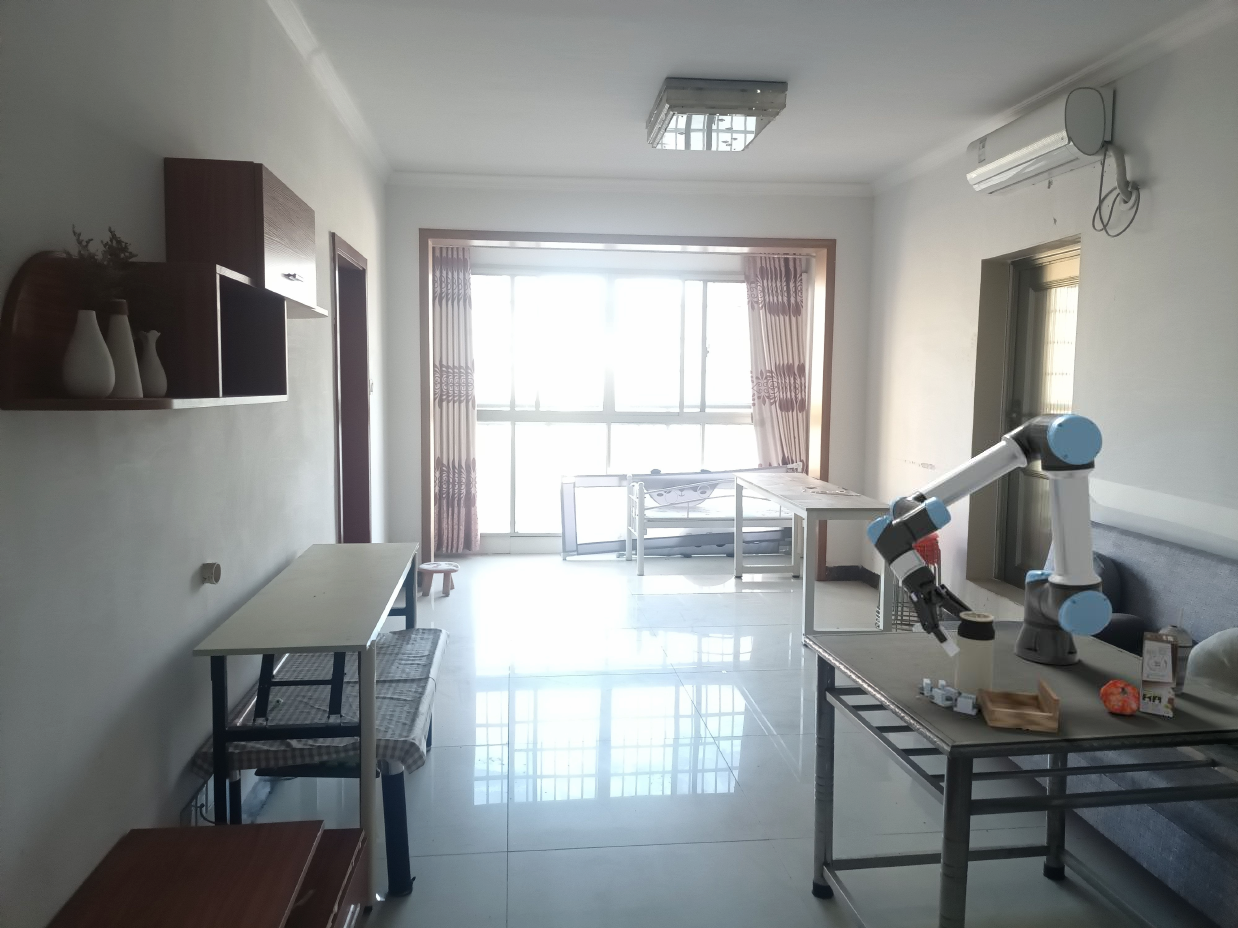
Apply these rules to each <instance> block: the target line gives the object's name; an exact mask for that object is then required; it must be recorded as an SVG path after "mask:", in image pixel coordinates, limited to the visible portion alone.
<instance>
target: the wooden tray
mask: <svg viewBox="0 0 1238 928" xmlns="http://www.w3.org/2000/svg"><path fill="white" fill-rule="evenodd" d="M976 704H980V711H981V714H982V715H983V717H984V719H985V721H986V723H987V725H988V727H996V728H1008V729H1016V728H1022V729H1021V730H1026V729H1029V730H1028V731H1038V732H1046V733H1047V732H1048V733H1056V734H1057V733H1058V730H1059V729H1058V728H1059V716H1060V715H1059V711H1060V698H1059V697H1058V695H1057V694H1056V693H1055V692H1054V691H1053V689H1051V687H1050V686H1049V684H1048V683H1047V682H1046V680H1044V678H1037V687H1036V693H1029V692H1019V691H1007V690H998V689H997V690H996V689H992V690H988V689H978V697H977V702H976Z"/></svg>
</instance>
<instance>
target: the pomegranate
mask: <svg viewBox="0 0 1238 928" xmlns="http://www.w3.org/2000/svg"><path fill="white" fill-rule="evenodd" d="M1100 699H1101V700H1102V702H1103V703H1102V704H1103V706H1104V708H1105V709H1107V711H1109V712H1111V713H1113V714H1117V715H1126V716H1130V715H1133V714H1135V713H1136V712H1137V711H1138V709H1140V691H1139V689H1137V687H1136V686H1134V685H1131V684H1129V683H1128V682H1126V681H1125V680H1121V679H1113V680H1110V681H1109V682H1107V683H1106V685H1103V686H1102V687H1101V688H1100Z"/></svg>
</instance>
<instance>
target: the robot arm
mask: <svg viewBox="0 0 1238 928" xmlns="http://www.w3.org/2000/svg"><path fill="white" fill-rule="evenodd" d="M1102 448H1103V435H1102V432H1101V430H1100V428H1099V426H1098V425H1097V424H1096V423H1095V422H1093V421H1092V420H1091V419H1090V418H1088V417H1086V416H1083V415H1079V414H1075V413H1044V414H1040V415H1037V416H1034V417H1033V418H1031V419H1029V420H1027V421H1026V422H1024V423H1023V424H1020V425H1019V426H1018V427H1016V428H1014V429H1013V430H1011V431H1009V432H1007V433H1006V434H1004V435H1003V436H1002V437H1001V440H1000V442H998V443H997V444H995V445H993V446H991V447H990V448H988V449H986V450H985V451H984V452H981V453H980V454H978V455H976V456H974V457H973V458H971V459H969V460H968V461H966V462H965V463H963V464H961V465H959V466H958V467H956V468H954V469H952V470H951V471H949V472H947V473H946V474H943V475H942V476H941V477H939V478H937V479H936V480H934V481H932V482H930V483H928V484H927V485H925V486H924V487H922V488H920V489H919V490H917V491H915V492H913V493H912V494H910V495H908V496H901V497H897V498H896V499H894V500H893V501H892V503H891V504H890V507H889V514H890V515H883V516H882V517H878V518H877V519H875V520H874V521H872V522H871V523H870V524H869V526H868V527H866V528H867V529H866V530H865V533H866V536H867V537H868V539H869V541H870V542H871V544H872V545H873V547H874V548H875V549H876V550H877V552H878V553H879V555H880V556H881V557H882V558H883V560H884V561H885V563H886V564H887V566H889V568H890V569H891V571H892V572H893V573H892V574H893V575H894V576H896V577H897V579H898V580H899V581H901V584H902V586H903V587H904V588H905V590H906V592H907V593H908V594H909V595H908V599H909V601H910V602H911V603H912V605H913V608H914V610H915V613H916V615H917V618H918V621H919V623H920V626H921V628H922V630H923V631H924V632H925V633H926V634H927V635H930V634H933V635H934V637H935V638H936V639H937V641H938V642H939V644H940V645H941V646H942V647H943V649H944V651H946V653H947V655H948V656H949V657H950V658H953V657H954V656H956V654H957V653H958V652H959V651H961V650H960V649H959V647H958V646H957V642H956V641H955V640H954V639H953V638H952V637H951V635H950V634H949V633H948V631H947V630H946V628H945V627H944V626H943V625H942V626H940V622H939V617H938V612H937V608H939V609H943V610H945V611H946V612H948V613H949V614H951V615H952V616H953V617H955V618H957V619H958V620H959V621H961V617H960V613H961V612H968V611H972V612H974V611H973V610H972V609H971V607H969V606H968V605H967V604H966V603H965V602H963V600H961V599H960V598H959V597H958V596H957V595H956V594H954V593H953V592H952V591H951V590H950V589H949V588H948V587H947V586H946V585H945V584H944V583H941V584H940V585H939V586H937V585H936V583H935V581H936V579H937V576H936V574H935V573H934V572H933V571H932V570H931V568H930V567H929V566H928V565H926V561H925V560H924V558H923V557H922V556H921V555H920V553H919V552H918V551H917V550H916V548H915V547H914V545H916V544H917V543H919V542H921V541H922V540H924V539H926V538H927V537H929V536H930V535H932V534H934V533H935V532H937V531H939V530H942V529H943V528H944V527H945V526H947V524H949V523H951V521H952V516H951V513H950V511H949V509H948V507H950V506H952V505H953V504H956V503H957V502H959V501H961V500H962V499H964V498H966V497H968V496H970V495H971V494H972V493H974V492H976V491H978V490H980V489H981V488H983V487H985V486H987V485H988V484H990V483H992V482H994V481H995V480H997V479H999V478H1000V477H1003V476H1004V475H1005V474H1007V473H1009V472H1011V471H1013V470H1015V468H1017V467H1019V468H1020V467H1021V468H1025V467H1027V466H1029V465H1031V464H1033V463H1035V462H1039V461H1040V469H1041V472H1042V473H1043V474H1045V475H1046V476H1047V477H1048V487H1049V488H1048V489H1049V505H1050V518H1051V519H1050V521H1051V523H1050V524H1051V533H1052V534H1051V535H1052V536H1051V537H1052V550H1053V551H1052V552H1053V553H1052V554H1053V567H1054V569H1053V570H1047V569H1045V570H1044V569H1043V570H1041V569H1040V570H1039V569H1038V570H1037V569H1035V570H1029V571H1027V574H1026V577H1025V582H1024V586H1025V587H1024V602H1023V603H1024V607H1023V623H1022V626H1021V629H1020V632H1019V634H1018V636H1017V638H1016V641H1015V644H1014V654H1015V655H1017V656H1018V657H1020V658H1022V659H1025V660H1027V661H1028V660H1029V661H1030V662H1031V661H1032V662H1036V663H1041V664H1048V665H1059V666H1060V665H1061V666H1062V665H1063V666H1064V665H1065V666H1067V665H1074V664H1076V663H1078V662H1079V650H1078V649H1079V648H1078V646H1077V642H1076V638H1075V635H1077V636H1081V637H1086V636H1087V637H1089V636H1093V635H1096V634H1098V633H1101V631H1103V630H1104V629H1105V627H1107V626H1108V624H1109V623H1110V621H1111V619H1112V614H1113V607H1112V603H1111V602H1110V600H1109V599H1108V597H1107V596H1106V595H1105V594H1104V593H1103V587H1102V577H1100V576H1099V575H1098V574H1097V573H1096V572H1095V570H1094V557H1093V539H1092V523H1091V522H1092V521H1091V519H1092V518H1091V505H1090V504H1091V503H1090V489H1089V488H1090V487H1089V486H1090V485H1089V475H1090V474H1091V473H1092V472H1093V471H1094V470H1095V466H1096V464H1095V459H1096V458H1097V456H1098V454H1099V453H1100V452H1101V450H1102Z"/></svg>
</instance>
